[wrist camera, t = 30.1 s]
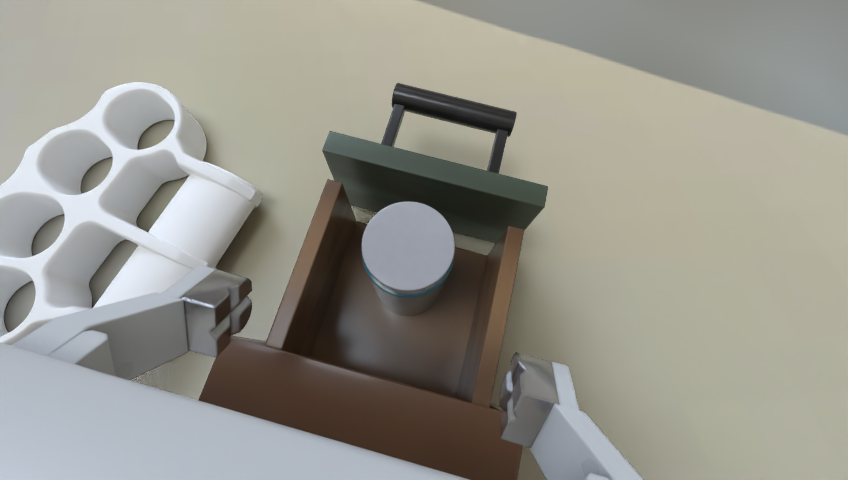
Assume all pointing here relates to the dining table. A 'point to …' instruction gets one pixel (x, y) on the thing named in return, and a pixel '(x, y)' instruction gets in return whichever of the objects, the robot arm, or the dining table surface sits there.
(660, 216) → the dining table surface
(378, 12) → the dining table surface
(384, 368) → the drawer
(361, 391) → the cabinet
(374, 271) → the salt shaker
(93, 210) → the white brass knuckles
